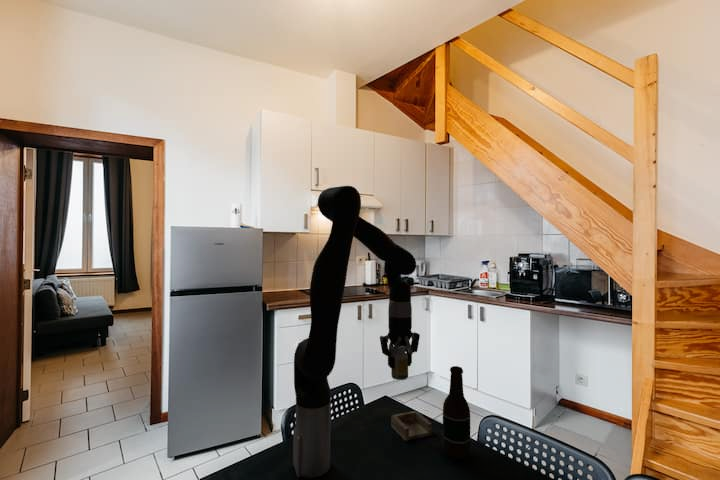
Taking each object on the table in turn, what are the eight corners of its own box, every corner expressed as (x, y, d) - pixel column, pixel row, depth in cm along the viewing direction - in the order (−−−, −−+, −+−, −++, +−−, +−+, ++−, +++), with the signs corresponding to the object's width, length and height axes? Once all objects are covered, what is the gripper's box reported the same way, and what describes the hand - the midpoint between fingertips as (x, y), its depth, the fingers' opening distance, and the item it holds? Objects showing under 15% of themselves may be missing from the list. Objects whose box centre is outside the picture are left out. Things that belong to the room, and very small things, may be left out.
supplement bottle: (410, 376, 114) (410, 346, 114) (404, 381, 110) (404, 350, 110) (395, 373, 117) (395, 343, 117) (388, 378, 112) (388, 347, 113)
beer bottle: (439, 455, 98) (439, 369, 99) (445, 441, 105) (446, 361, 106) (467, 463, 95) (467, 374, 95) (472, 449, 101) (472, 365, 102)
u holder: (405, 440, 105) (405, 429, 105) (391, 426, 114) (391, 415, 114) (431, 435, 109) (432, 423, 109) (416, 421, 118) (416, 410, 118)
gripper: (385, 318, 107) (385, 373, 107) (425, 314, 113) (425, 367, 113) (375, 313, 114) (375, 366, 114) (412, 310, 120) (412, 360, 120)
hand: (400, 366), depth 113 cm, fingers closed on supplement bottle, 5 cm apart
